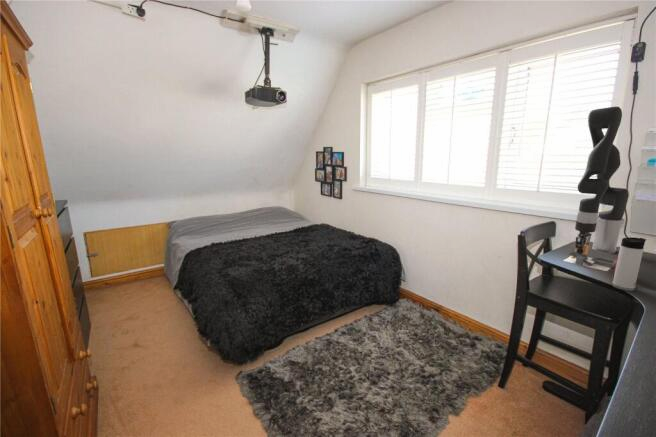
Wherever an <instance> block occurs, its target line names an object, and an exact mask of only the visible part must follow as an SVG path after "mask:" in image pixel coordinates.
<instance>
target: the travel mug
mask: <svg viewBox="0 0 656 437" xmlns="http://www.w3.org/2000/svg"><path fill="white" fill-rule="evenodd" d="M646 241H647V239H645V238H643V237H633V236H632V237H631V236H630V237H623V238H621V242H620V247H619V252H618V254H619V256H618V255H617V256H618V261H617V260H616V261H617V265H616V270H615V269H614V270H615V275H614V274H613V276H614V277H613V281H612V286H613V288H616V289H618V290H622V291H628V292H632V291H634V290H635V289H636V285H637V280H638V277H639V271H640V266H641V262H642V258H643V253H644V248H645V247H644V246H645V245H646V244H645V243H646Z"/></svg>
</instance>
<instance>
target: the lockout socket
mask: <svg viewBox="0 0 656 437" xmlns="http://www.w3.org/2000/svg"><path fill="white" fill-rule="evenodd" d="M592 258H593V259H591V260H592V261H594V262H595V263H594V264H597V265H602V266H606V267H610V269H614V268H615V265H616V261H617V259H611V258H605V257H602V256H595V257H592ZM597 260H599V261H597ZM601 261H603V262H601ZM606 262H608V263H606ZM610 263H611V264H610Z"/></svg>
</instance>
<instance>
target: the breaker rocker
mask: <svg viewBox="0 0 656 437" xmlns="http://www.w3.org/2000/svg"><path fill="white" fill-rule="evenodd" d="M569 255H570V256H573V257H575V258H577V256H579V257H584V256H582V255H580V254H579V253H577V252H575V250H572V251H570V253H569ZM583 262H584V263H586V264H588V265H590V266H591V265H593V264H594V263H595V262H594V261H592V260H590V259H588V258H586V257H584V259H583Z"/></svg>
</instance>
